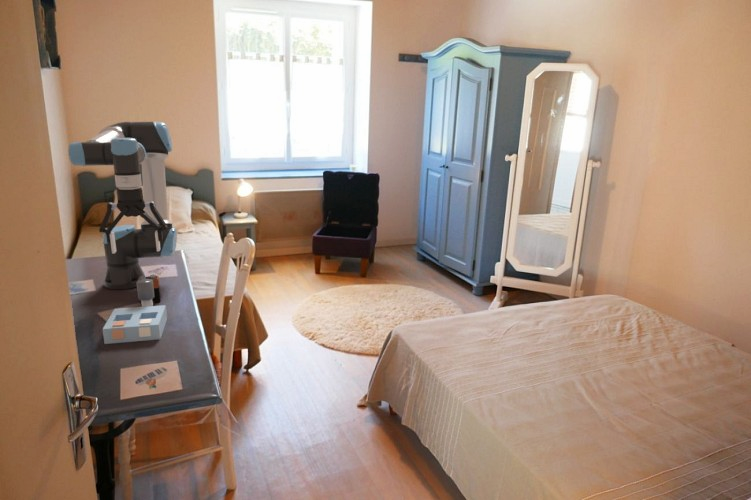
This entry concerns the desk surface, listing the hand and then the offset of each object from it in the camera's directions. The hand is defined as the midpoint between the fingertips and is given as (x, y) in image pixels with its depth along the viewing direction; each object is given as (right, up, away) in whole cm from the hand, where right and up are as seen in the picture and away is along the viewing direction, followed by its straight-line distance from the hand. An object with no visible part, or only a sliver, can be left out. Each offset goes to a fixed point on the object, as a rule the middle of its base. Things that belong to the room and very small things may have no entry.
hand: (136, 251), depth 171 cm
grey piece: (-1, -22, +10) cm, 24 cm away
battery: (-5, -19, +21) cm, 29 cm away
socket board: (+2, -26, -3) cm, 26 cm away
